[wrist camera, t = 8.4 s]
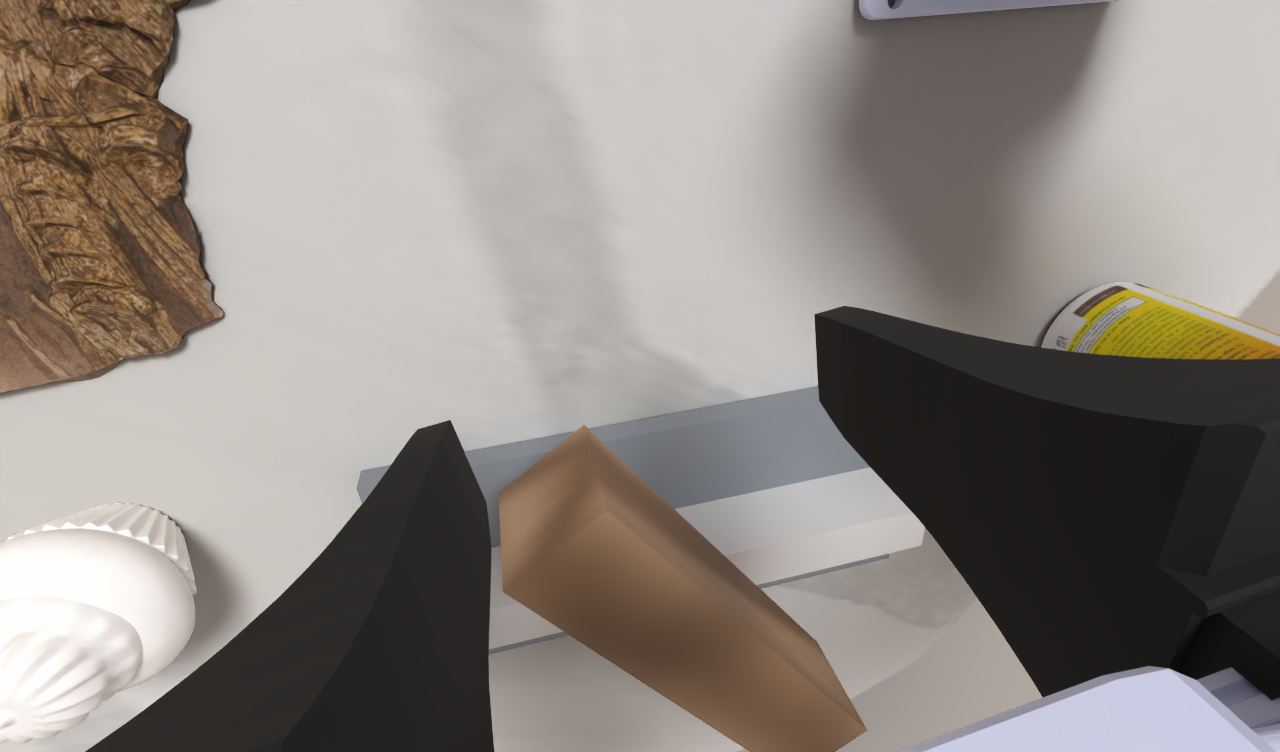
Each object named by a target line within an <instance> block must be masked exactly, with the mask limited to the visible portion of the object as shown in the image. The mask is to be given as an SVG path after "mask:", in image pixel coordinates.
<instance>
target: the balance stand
mask: <svg viewBox="0 0 1280 752" xmlns="http://www.w3.org/2000/svg"><path fill="white" fill-rule="evenodd" d="M589 430H590V431H591V432H592V433H593V434H594V435H595V436H596V437H597V438H598V439H600V440H601V441H602V442H603V443H604V444H605V445H606V446H607V447H608V448H609V449H610V450H611V451H612V452H614V453H615V454H616V455H617V456H618V457H619V458H620V459H621V460H622V461H623V462H624V463H625V464H626V465H627V466H629V467H630V468H631V469H632V470H633V471H634V472H635V473H636V474H637V475H638V476H639V477H640V478H641V479H643V480H644V481H645V482H646V483H647V484H648V485H649V486H650V487H651V488H652V489H653V490H654V491H655V492H656V493H658V494H659V495H660V496H661V497H662V498H663V499H664V500H665V501H666V502H667V503H668V504H669V505H670V506H672V507H673V508H674V509H675V510H676V511H677V512H678V513H679V514H680V515H681V516H682V517H683V518H684V519H685V520H687V521H688V522H689V523H690V524H691V525H692V526H693V527H694V528H695V529H696V530H697V531H698V532H699V533H701V534H702V535H703V536H704V537H705V538H706V539H707V540H708V541H709V542H710V543H711V544H712V545H713V546H714V547H716V548H717V549H718V550H719V551H720V552H721V553H722V554H723V555H724V556H725V557H726V558H727V559H728V560H730V561H731V562H732V563H733V564H734V565H735V566H736V567H737V568H738V569H739V570H740V571H741V572H742V573H743V574H745V575H746V576H747V577H748V578H749V579H750V580H751V581H752V582H753V583H754V584H755V585H756V586H757V587H759V588H760V589H761V588H765V587H769V586H773V585H778V584H782V583H786V582H790V581H794V580H798V579H802V578H807V577H811V576H815V575H819V574H823V573H827V572H831V571H836V570H840V569H844V568H848V567H852V566H856V565H860V564H865V563H869V562H873V561H877V560H881V559H885V558H888V557H889V553H893V552H897V551H901V550H905V549H909V548H914V547H918V546H922V541H923V537H924V532H925V526H924V525H923V524H922V523H921V522H920V521H919V519H918V518H917V517H916V516H915V515H914V514H913V513H912V512H911V511H910V509H909V508H908V507H907V506H906V505H905V504H904V503H903V502H902V501H901V500H900V499H899V498H898V496H897V495H896V494H895V493H894V492H893V491H892V490H891V489H890V488H889V487H888V486H887V485H886V484H885V482H884V481H883V480H882V479H881V478H880V477H879V476H878V475H877V474H876V473H875V472H874V471H873V470H872V468H871V467H870V466H869V465H868V464H867V463H866V462H865V461H864V460H863V459H862V457H861V456H860V455H859V454H858V453H857V452H856V451H855V450H854V449H853V448H852V446H851V445H850V444H849V443H848V442H847V441H846V440H845V438H844V437H843V436H842V434H841V433H840V431H839V430H838V429H837V427H836V426H835V424H834V423H833V421H832V420H831V418H830V417H829V415H828V414H827V412H826V411H825V409H824V408H823V406H822V404H821V403H820V401H819V389H818V387H812V388H807V389H802V390H796V391H791V392H785V393H780V394H775V395H769V396H764V397H759V398H753V399H748V400H742V401H737V402H732V403H726V404H721V405H715V406H710V407H705V408H699V409H694V410H688V411H683V412H678V413H672V414H667V415H661V416H656V417H651V418H645V419H640V420H635V421H629V422H624V423H618V424H613V425H608V426H602V427H597V428H591V429H589ZM575 432H576V431H575ZM575 432H570V433H564V434H559V435H554V436H548V437H543V438H537V439H532V440H527V441H521V442H516V443H511V444H505V445H500V446H494V447H489V448H484V449H478V450H473V451H467V452H465V455H466V457H467V459H468V461H469V464H470V466H471V468H472V471H473V473H474V475H475V477H476V480H477V482H478V484H479V487H480V489H481V491H482V493H483V496H484V498H485V500H486V503H487V511H488V519H489V528H490V538H491V548H492V553H491V594H490V624H489V654H492V653H496V652H500V651H504V650H508V649H512V648H517V647H521V646H525V645H529V644H533V643H537V642H541V641H546V640H550V639H554V638H558V637H562V636H566V635H569V634H567V633H566V632H564V631H563V630H561V629H559V628H558V627H556V626H555V625H553V624H552V623H550V622H549V621H547V620H546V619H544V618H542V617H541V616H539V615H538V614H536V613H535V612H533V611H532V610H530V609H528V608H527V607H525V606H524V605H522V604H521V603H519V602H518V601H516V600H515V599H513V598H511V597H510V596H508V595H507V594H505V593H504V592H503V586H502V562H501V539H500V515H499V492H501V491H502V490H503V489H504V488H506V487H507V486H508V485H509V484H511V483H512V482H513V481H514V480H516V479H517V478H518V477H519V476H521V475H522V474H523V473H525V472H526V471H527V470H528V469H530V468H531V467H532V466H533V465H535V464H536V463H537V462H538V461H540V460H541V459H542V458H543V457H545V456H546V455H547V454H548V453H550V452H551V451H552V450H553V449H555V448H556V447H557V446H558V445H560V444H561V443H562V442H563V441H565V440H566V439H567V438H568V437H570V436H571V435H572V434H573V433H575ZM389 467H390V466H387V467H381V468H376V469H370V470H365V471H361V474H360V478H359V482H358V485H357V491H358V493H359V496H360V499H361V501H362V504H363V503H364V501H365V500H366V499H367V497H368V496H369V495H370V493H371V492H372V491H373V489H374V488H375V486H376V485H377V484H378V482H379V481H380V480H381V478H382V477H383V476H384V474H385V473H386V471H387V470H388V469H389Z"/></svg>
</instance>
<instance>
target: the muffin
mask: <svg viewBox="0 0 1280 752" xmlns="http://www.w3.org/2000/svg"><path fill="white" fill-rule="evenodd" d="M7 539H8V540H7V541H4V542H1V543H0V744H1V743H3V742H6V741H8V740H11V741H13V742H16V743H19V744H23V743H27V742H29V741H30V740H32V739H33V738H34V739H45V738H50V737H53V736H55V735H57V734H58V733H60V732H61V731H62V730H65V729H68V728H71V727H73V726H76V725H78V724H80V723H82V722H83V721H84V720H85V719H86V717H87V716H88V714H89V712H90V711H92V710H94V709H96V708H97V707H99V706H100V704H101V703H102V701H105V700H108V699H109V698H111V697H112V696H113V695H114V694H115V693H117V692H120V691H123V690H126V689H128V688H131V687H134V686H136V685H139V684H141V683H143V682H145V681H147V680H149V679H151V678H153V677H154V676H156V675H157V674H159V673H160V672H161V671H163V670H164V669H165V668H166V667H167V666H168V665H170V664H171V663H172V662H173V661H174V660H175V658H176V657H177V656H178V655H179V654H180V653H181V651H182V650H183V649H184V647H185V646H186V644H187V643H188V641H189V639H190V637H191V635H192V632H193V629H194V625H195V618H196V616H195V604H194V599H193V595H194V594H196V593H197V589H196V585H195V580H194V579H195V578H194V574H193V570H192V566H191V562H190V558H189V554H188V550H187V546H186V543H185V539H184V535H183V534H182V533H181V529H180V527H178V526H176V525H175V521H172V520H170V519H169V518H168V516H167V515H162V514H161V513H160V511H159V510H152V509H151V508H150V507H149V506H146V507H143V506H141V505H140V504H132V503H126V504H122V503H120V502H117V503H114V504H108V503H107V504H103V505H100V506H95V507H92V508H89V509H86V510H83V511H80V512H77V513H73V514H70V515H67V516H64V517H61V518H58V519H55V520H52V521H49V522H46V523H43V524H40V525H37V526H34V527H31V528H28V529H26V530H25V531H24V532H21V533H18V534H15V535H12V536H10V537H8V538H7Z"/></svg>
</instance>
